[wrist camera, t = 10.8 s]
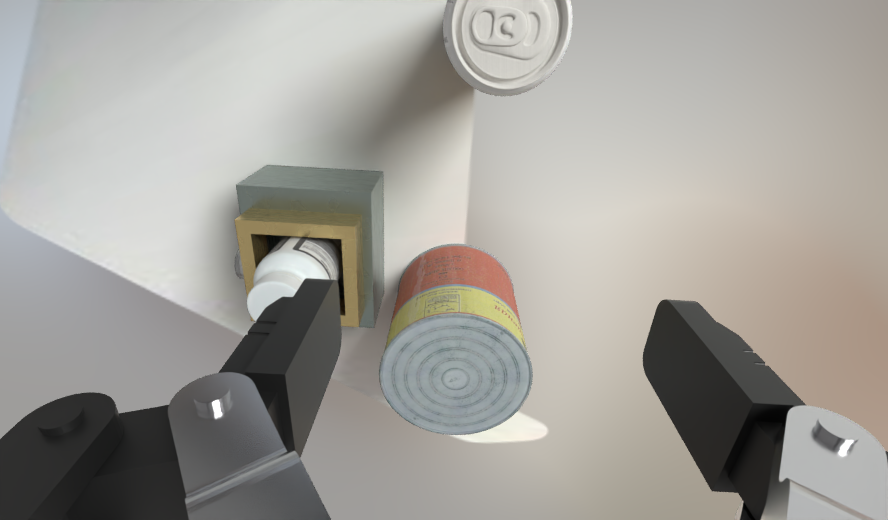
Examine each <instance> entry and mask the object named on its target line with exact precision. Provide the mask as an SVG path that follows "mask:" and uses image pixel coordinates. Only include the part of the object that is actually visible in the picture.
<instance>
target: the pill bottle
mask: <svg viewBox="0 0 888 520" xmlns="http://www.w3.org/2000/svg"><path fill="white" fill-rule="evenodd" d="M342 273H343V258H342V240H341V239H333V238H315V237H298V236H284V237H283V238H282V239H281V240H280V241H279V243H278V244H277V245H276V246H275V247H274V248H273V249H272V250H271V251H270V252H269V253H268V254H267V255H266V257H264V258H263V260H262V261H261V262H260V264H259V265H258V267H257V268H256V271H255V274H254V287H253V288H252V289H251V291H250V292H249V294H248V297H247V308H248V312H249V314H250V315H251V317H252V318H253V320H254V321H255V322H256V320H257V319H258V317H259V316H260V315H261V313H262V312H263V310H264V309H265V308H266V307H267V306H269V305H270V304H272V303H273V302H275V301H276V300H278V299H279V298H281V297H293V296H294V295H295V293H296V292H297V290H298V289H299V287H300V285H301V284H302V282H303V281H304V280H305V279H306V278H312V279H330V280H337V282H338V280H339V278H340V277H341V275H342Z"/></svg>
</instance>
